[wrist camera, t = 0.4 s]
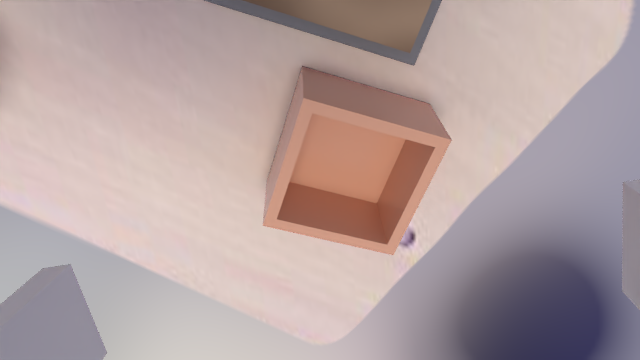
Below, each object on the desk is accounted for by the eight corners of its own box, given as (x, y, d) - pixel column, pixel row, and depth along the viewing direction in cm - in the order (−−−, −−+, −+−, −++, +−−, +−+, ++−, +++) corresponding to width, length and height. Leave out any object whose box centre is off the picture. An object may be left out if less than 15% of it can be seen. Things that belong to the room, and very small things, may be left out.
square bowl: (302, 66, 35) (303, 98, 30) (429, 103, 37) (451, 139, 32) (266, 181, 40) (262, 225, 34) (381, 209, 41) (393, 255, 36)
